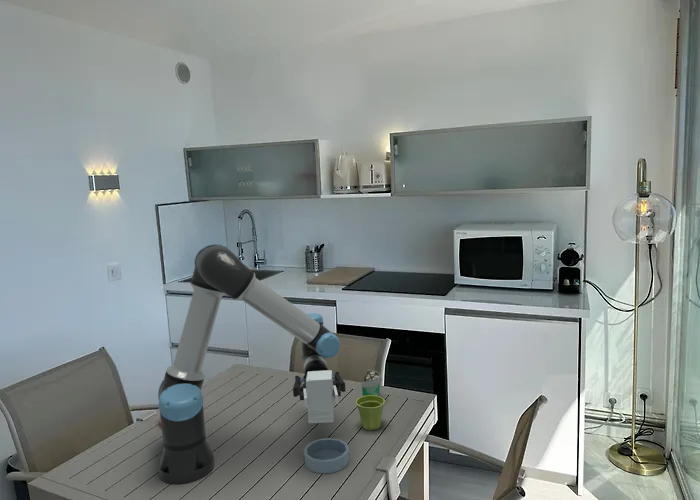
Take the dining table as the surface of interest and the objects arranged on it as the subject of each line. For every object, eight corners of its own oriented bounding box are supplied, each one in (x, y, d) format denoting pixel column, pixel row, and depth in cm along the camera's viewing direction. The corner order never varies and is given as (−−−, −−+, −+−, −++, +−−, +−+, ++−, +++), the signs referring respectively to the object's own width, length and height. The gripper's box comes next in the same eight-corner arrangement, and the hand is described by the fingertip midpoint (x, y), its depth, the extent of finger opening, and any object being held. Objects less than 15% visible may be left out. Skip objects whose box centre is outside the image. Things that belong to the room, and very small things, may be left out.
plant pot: (376, 435, 161) (375, 409, 160) (351, 429, 166) (350, 403, 165) (390, 423, 169) (389, 398, 168) (366, 417, 174) (365, 393, 173)
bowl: (305, 476, 141) (304, 463, 141) (304, 451, 154) (303, 440, 153) (351, 470, 143) (351, 458, 142) (346, 447, 155) (345, 436, 155)
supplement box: (334, 422, 143) (331, 379, 141) (307, 423, 143) (304, 380, 141) (335, 410, 150) (332, 369, 148) (309, 411, 150) (307, 370, 149)
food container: (379, 409, 179) (378, 382, 178) (362, 408, 181) (361, 381, 179) (384, 394, 191) (383, 369, 190) (368, 394, 193) (367, 368, 191)
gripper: (348, 378, 165) (359, 409, 143) (284, 385, 163) (284, 418, 140) (347, 356, 164) (357, 384, 142) (282, 362, 161) (282, 392, 139)
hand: (321, 401), depth 141 cm, fingers closed on supplement box, 8 cm apart
